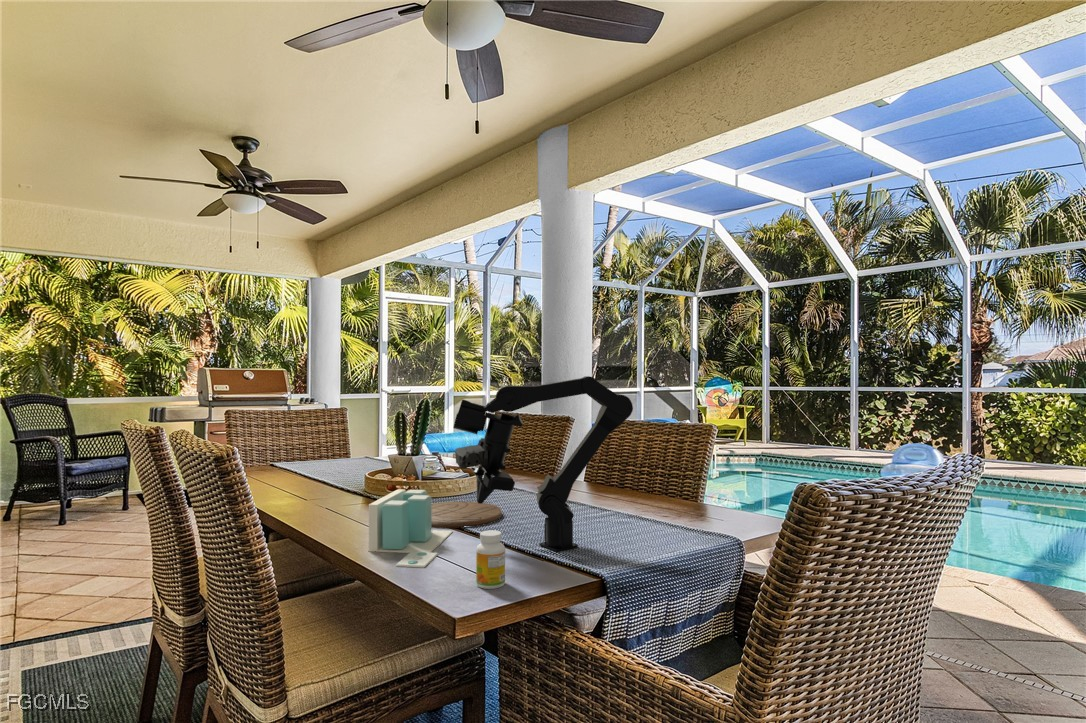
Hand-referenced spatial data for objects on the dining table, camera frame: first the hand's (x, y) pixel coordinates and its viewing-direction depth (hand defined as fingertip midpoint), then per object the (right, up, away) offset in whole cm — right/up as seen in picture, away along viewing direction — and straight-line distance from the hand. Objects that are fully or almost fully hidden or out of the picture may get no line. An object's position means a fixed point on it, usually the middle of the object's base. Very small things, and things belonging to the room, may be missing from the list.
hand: (479, 502), depth 147 cm
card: (-12, -9, -12) cm, 19 cm away
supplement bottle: (+5, -10, -27) cm, 29 cm away
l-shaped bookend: (-16, -10, +3) cm, 19 cm away
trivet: (-9, -10, +28) cm, 31 cm away
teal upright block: (-14, -10, +3) cm, 18 cm away
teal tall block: (-18, -10, -3) cm, 21 cm away
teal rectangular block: (-17, -10, +10) cm, 22 cm away
